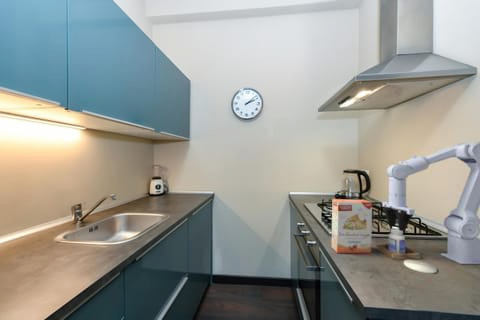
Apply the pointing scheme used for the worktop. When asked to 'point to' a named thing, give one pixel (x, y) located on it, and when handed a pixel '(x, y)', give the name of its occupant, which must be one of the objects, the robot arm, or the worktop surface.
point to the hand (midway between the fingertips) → (397, 228)
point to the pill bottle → (396, 241)
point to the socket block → (411, 254)
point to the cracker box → (351, 226)
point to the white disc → (420, 266)
